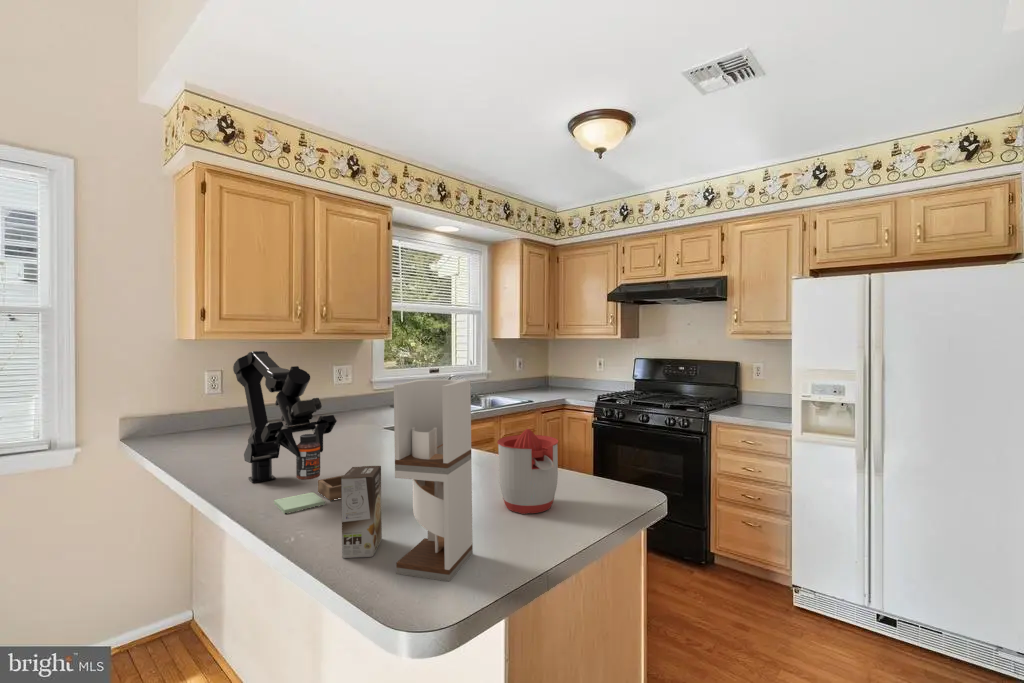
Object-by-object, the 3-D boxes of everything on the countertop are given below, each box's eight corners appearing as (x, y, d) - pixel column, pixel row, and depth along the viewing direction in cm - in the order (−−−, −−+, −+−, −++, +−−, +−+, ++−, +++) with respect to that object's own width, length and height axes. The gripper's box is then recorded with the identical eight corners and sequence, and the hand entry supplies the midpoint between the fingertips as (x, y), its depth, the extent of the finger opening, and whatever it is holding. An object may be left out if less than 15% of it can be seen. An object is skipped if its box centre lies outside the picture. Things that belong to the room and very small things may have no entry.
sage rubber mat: (274, 503, 130) (274, 500, 130) (313, 495, 136) (312, 492, 136) (284, 514, 122) (284, 510, 122) (325, 504, 128) (325, 501, 128)
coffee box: (374, 557, 98) (373, 477, 97) (341, 559, 97) (340, 478, 97) (382, 538, 107) (381, 464, 106) (352, 539, 106) (351, 465, 106)
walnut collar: (317, 492, 139) (317, 480, 139) (352, 485, 145) (352, 473, 145) (330, 501, 131) (330, 488, 131) (366, 493, 138) (365, 480, 138)
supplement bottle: (306, 481, 127) (306, 438, 127) (291, 478, 130) (290, 436, 129) (325, 475, 132) (324, 434, 132) (310, 473, 135) (309, 432, 135)
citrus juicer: (519, 525, 113) (518, 438, 113) (488, 502, 129) (487, 426, 129) (575, 513, 121) (574, 431, 120) (539, 493, 136) (538, 421, 136)
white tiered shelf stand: (424, 548, 102) (422, 379, 101) (472, 554, 98) (470, 380, 98) (396, 573, 91) (393, 384, 90) (449, 581, 88) (446, 385, 87)
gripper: (264, 392, 126) (283, 441, 119) (333, 386, 140) (353, 429, 133) (253, 419, 132) (270, 467, 124) (320, 410, 145) (339, 453, 138)
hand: (310, 453), depth 130 cm, fingers closed on supplement bottle, 6 cm apart
